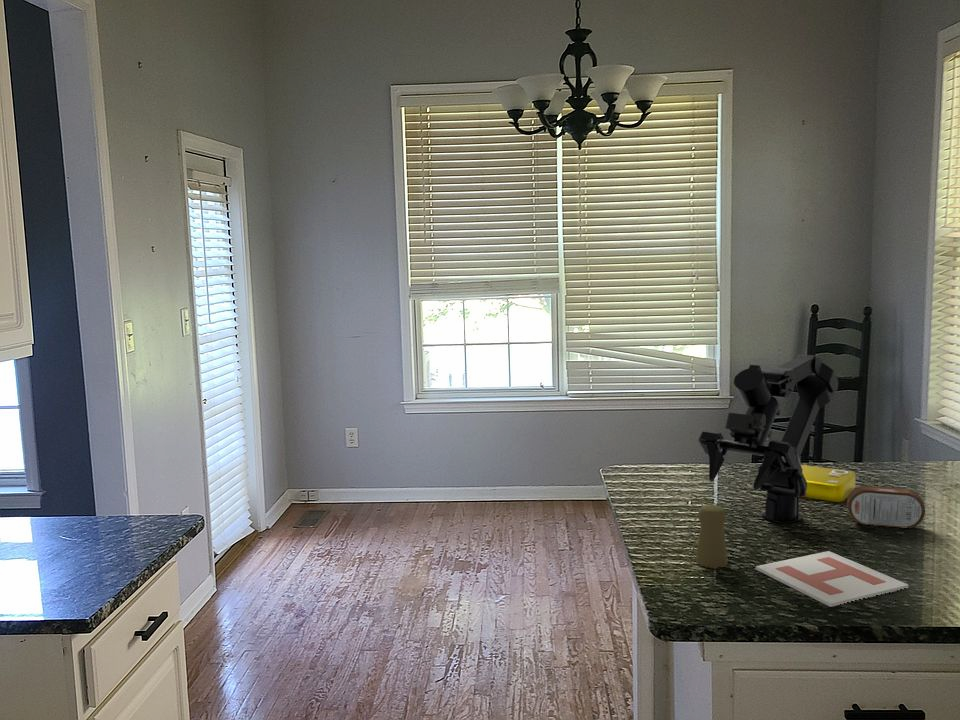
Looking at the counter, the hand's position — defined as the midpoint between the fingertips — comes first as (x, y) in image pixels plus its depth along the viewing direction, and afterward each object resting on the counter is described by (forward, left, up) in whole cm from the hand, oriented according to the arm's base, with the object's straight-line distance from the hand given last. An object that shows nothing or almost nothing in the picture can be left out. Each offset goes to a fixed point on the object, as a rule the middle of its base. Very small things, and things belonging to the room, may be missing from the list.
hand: (732, 484), depth 162 cm
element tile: (-46, -23, -14) cm, 54 cm away
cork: (+7, +3, -14) cm, 16 cm away
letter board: (-7, +19, -13) cm, 24 cm away
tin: (-39, +3, -14) cm, 41 cm away
